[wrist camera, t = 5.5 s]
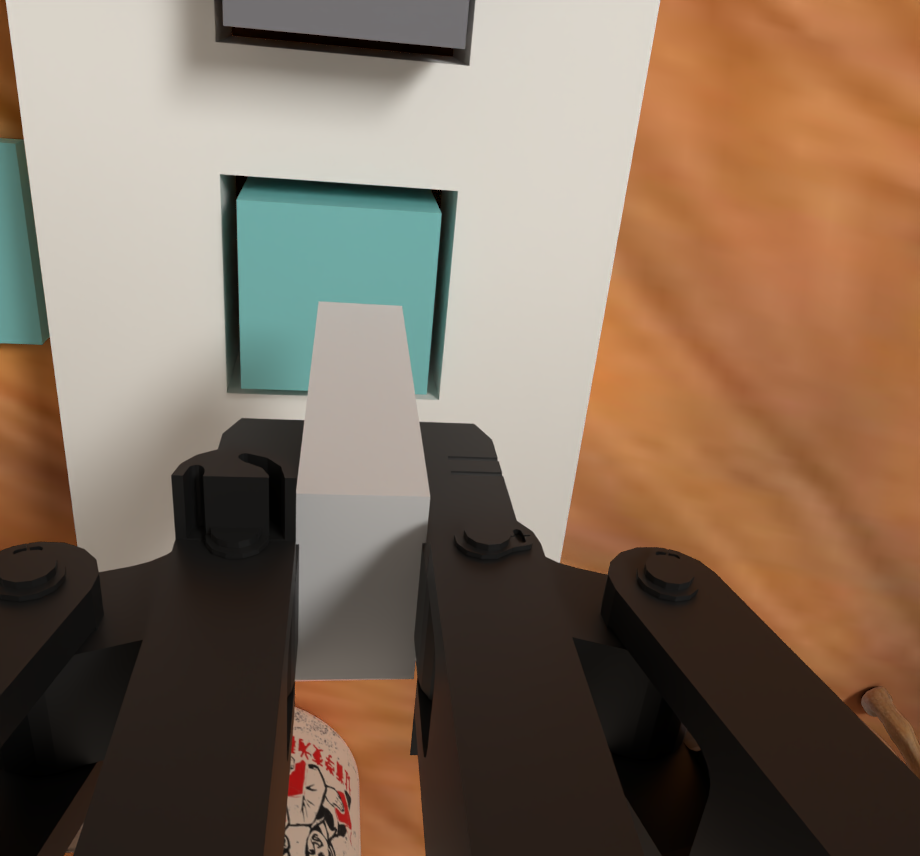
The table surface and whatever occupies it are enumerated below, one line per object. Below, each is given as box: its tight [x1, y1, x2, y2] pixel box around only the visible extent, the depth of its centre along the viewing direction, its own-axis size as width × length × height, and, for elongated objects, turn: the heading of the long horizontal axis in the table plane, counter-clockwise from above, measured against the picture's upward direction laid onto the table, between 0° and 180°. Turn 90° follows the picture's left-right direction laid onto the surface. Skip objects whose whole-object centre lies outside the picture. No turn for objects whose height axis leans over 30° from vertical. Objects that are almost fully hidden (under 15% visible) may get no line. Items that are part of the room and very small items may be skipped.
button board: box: [6, 0, 660, 661], centre depth 21 cm, size 13×22×3 cm, turn 174°
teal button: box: [236, 176, 442, 395], centre depth 21 cm, size 4×4×3 cm
